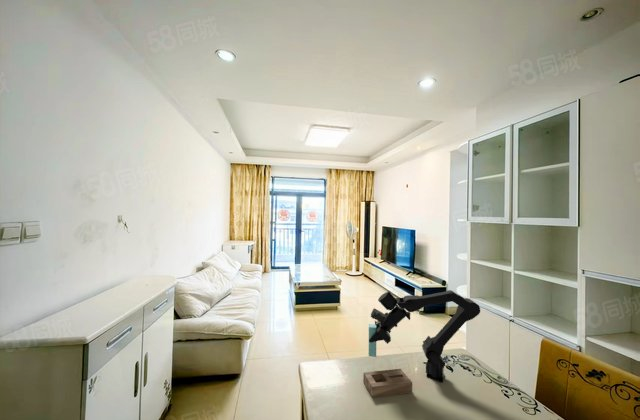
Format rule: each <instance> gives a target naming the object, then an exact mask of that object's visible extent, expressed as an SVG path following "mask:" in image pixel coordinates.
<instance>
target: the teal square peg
mask: <svg viewBox="0 0 640 420" xmlns="http://www.w3.org/2000/svg"><path fill="white" fill-rule="evenodd" d="M375 332H376V325H375V324H371V323H370V324H369V323H368V340H369V339H370V338H371V337H372V336H373V334H374V333H375ZM368 357H374V358H377V341H375V342H371V343H370V342H369V341H368Z"/></svg>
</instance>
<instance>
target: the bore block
mask: <svg viewBox="0 0 640 420" xmlns="http://www.w3.org/2000/svg"><path fill="white" fill-rule="evenodd" d="M363 384H364V386H365V388H366V389H367V391H368V393H369V395H370V397H371V398H380V397H389V396H396V395H402V394H403V395H405V394H410V393H412V394H413V381H412V379H410V378H409V377H408V375H406V373H405V371H403V370H402V368H396V369H385V370H374V371H365V372H363Z"/></svg>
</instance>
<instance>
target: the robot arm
mask: <svg viewBox="0 0 640 420" xmlns="http://www.w3.org/2000/svg"><path fill="white" fill-rule="evenodd" d="M377 301H378V302H379V303H380V304H381V305H382V306H383V307H384V309H385V310H387V311H389V312H385V313H384V312H382V311H380V310H379V309H376V308H373V309H372V310H371V313H370V317H371V319H374V325H376V332H375V333H374V334H373V336H372V337H371V338H370V339H369V338H368V343H369V342H370V343H371V342H375V341H376V342H379V341H384V342H385V344H387V345H388V344H389V343H390V342H391V341H392V338H391V332H392V331H391V330H393V329H394V328H397V327H398V324H399V323H400V322H402V321H403V320H404V319H405V318H407V319H408V321H410V320H411V313H414V312H417V311H419V310H422V309H423V308H425V307H428V306H433V305H434V306H435V305H440V304H446V303H450V302H453V304H454V303H455V305H457V307H456V311H455V313H454V314H453V316H451V318H450V319H449V320H448V321H447V322H446V324H444V326H443V327H442V328H441V329H440V331H438V333H437V334H436V335H435V336H433V337H431V336H430V335H427V337H426V338H425V339H424V340H423V341H422V344H421V347H422V352H423V353H424V356H425V357H426V359H427V361H426V362H425V374H426V376H425V377H426V378H428V379H432V380H434V381H437V382H440V383H443V382H444V378H445V372H444V371H445V369H444V368H445V366H446V361H444V359H443V356H442V354H443V352H444V348H445V345H447V344H448V342H449V341H450V340H451V339H452V338H453V337H454V335H456V333H457V332H458V331H459V330H460V329H461V328H462V327H463V326H464V324H466V322H468V321H471V320H473V319H475V318H476V317H478V315H480V313H481V307H480V306H479V304H478V303H477V302H475V301H474V300H473V299H471V298H468V297H467V298H465V297H463V296H462V295H459V294H458V293H456V292H455V291H454V290H451V289H450V290H449V289H448V290H447V291H442V292H440V291H439V292H436V293H432V294H431V293H430V294H425V295H413V294H412V295H411V294H410V295H405V296H403V297H395V295H393V293H391V292H390V290H388V291H387V292H384V293H382V294H381V295H380V296H379V297H378V300H377Z"/></svg>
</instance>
